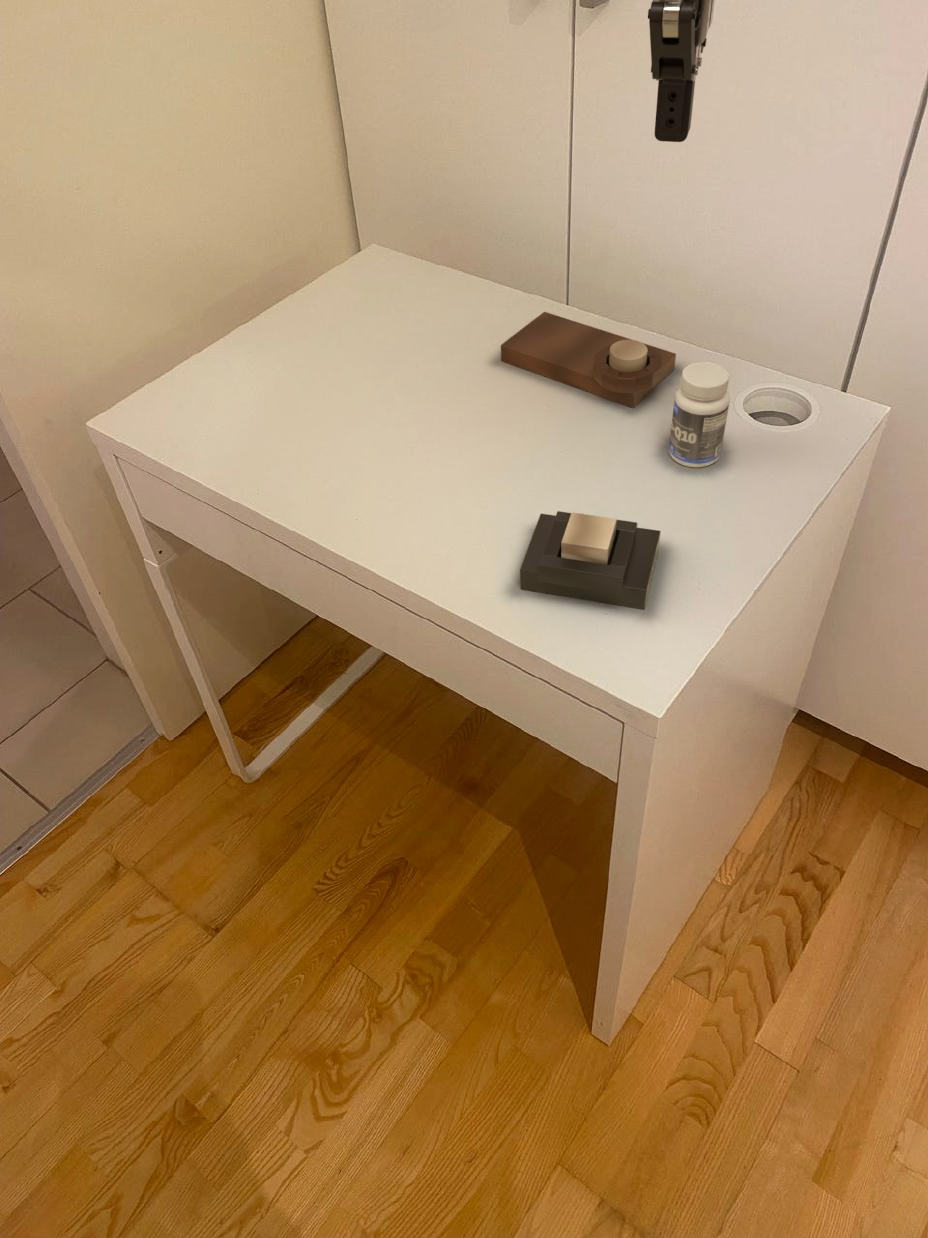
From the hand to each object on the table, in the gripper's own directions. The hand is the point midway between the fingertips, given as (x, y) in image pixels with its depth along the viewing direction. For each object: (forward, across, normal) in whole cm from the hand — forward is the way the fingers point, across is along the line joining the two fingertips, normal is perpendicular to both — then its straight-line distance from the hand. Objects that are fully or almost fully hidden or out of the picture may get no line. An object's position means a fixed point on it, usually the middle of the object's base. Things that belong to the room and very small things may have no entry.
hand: (671, 136), depth 65 cm
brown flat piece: (+29, +17, +8) cm, 35 cm away
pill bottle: (+29, +4, -4) cm, 30 cm away
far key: (+26, +13, +4) cm, 29 cm away
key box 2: (+29, -13, +2) cm, 32 cm away
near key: (+25, -14, +2) cm, 29 cm away
